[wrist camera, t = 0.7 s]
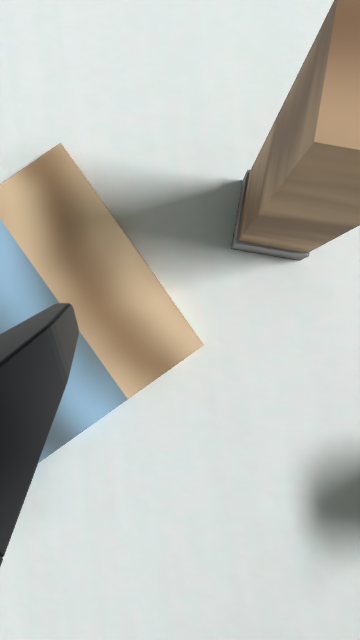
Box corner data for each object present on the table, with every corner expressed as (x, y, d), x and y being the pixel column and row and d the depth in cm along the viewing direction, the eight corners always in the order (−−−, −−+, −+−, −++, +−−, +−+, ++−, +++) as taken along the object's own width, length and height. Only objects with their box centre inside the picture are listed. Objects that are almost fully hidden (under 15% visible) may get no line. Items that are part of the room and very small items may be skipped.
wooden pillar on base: (299, 260, 23) (469, 175, 10) (231, 248, 23) (307, 146, 10) (311, 191, 23) (495, 14, 10) (242, 179, 23) (334, -15, 10)
